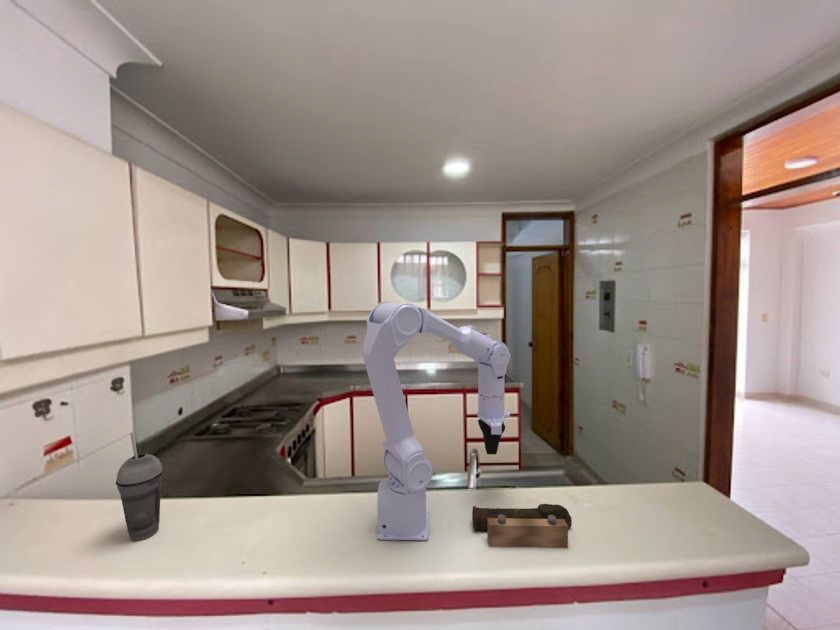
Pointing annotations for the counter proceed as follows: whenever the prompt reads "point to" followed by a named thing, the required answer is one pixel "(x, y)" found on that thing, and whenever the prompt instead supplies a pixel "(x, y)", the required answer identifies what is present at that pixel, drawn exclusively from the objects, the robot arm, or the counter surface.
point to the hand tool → (519, 514)
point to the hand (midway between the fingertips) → (491, 453)
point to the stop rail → (527, 532)
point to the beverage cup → (140, 493)
